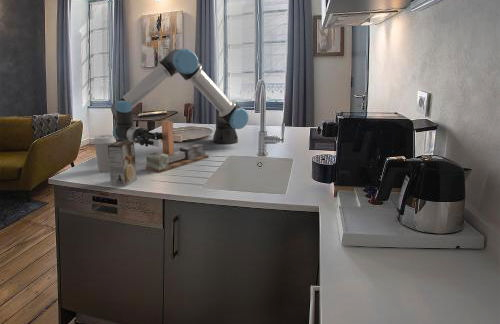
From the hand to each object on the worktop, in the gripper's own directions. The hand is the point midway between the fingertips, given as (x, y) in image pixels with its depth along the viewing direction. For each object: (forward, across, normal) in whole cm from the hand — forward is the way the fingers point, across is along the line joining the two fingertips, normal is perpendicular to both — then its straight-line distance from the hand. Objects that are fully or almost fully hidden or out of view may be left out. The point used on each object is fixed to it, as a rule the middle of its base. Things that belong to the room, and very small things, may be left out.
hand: (170, 141), depth 169 cm
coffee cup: (-19, +21, -12) cm, 31 cm away
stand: (-2, -7, -12) cm, 14 cm away
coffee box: (+1, +27, -12) cm, 30 cm away
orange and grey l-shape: (-2, -3, -10) cm, 11 cm away
